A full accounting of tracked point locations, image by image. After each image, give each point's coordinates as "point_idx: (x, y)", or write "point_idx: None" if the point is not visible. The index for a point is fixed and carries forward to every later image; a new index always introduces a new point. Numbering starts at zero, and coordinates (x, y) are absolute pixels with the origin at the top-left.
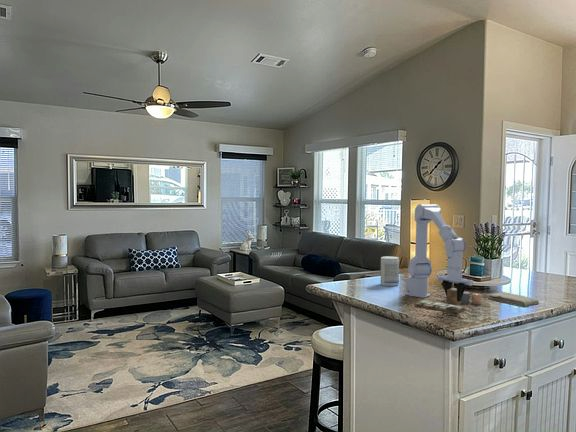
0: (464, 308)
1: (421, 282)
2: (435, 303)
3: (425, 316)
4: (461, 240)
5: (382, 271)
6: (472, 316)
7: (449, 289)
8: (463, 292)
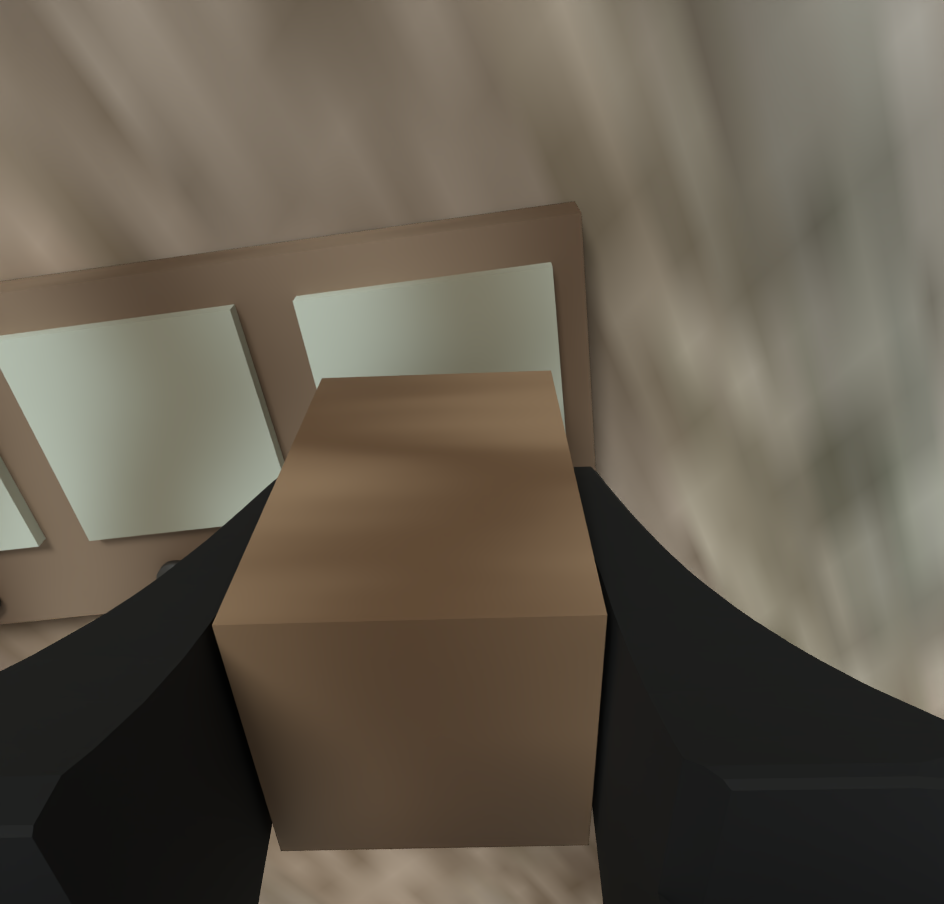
0: (578, 215)
1: None
2: (51, 441)
3: (382, 853)
4: None
5: None
6: (837, 521)
7: (323, 819)
8: (703, 590)
